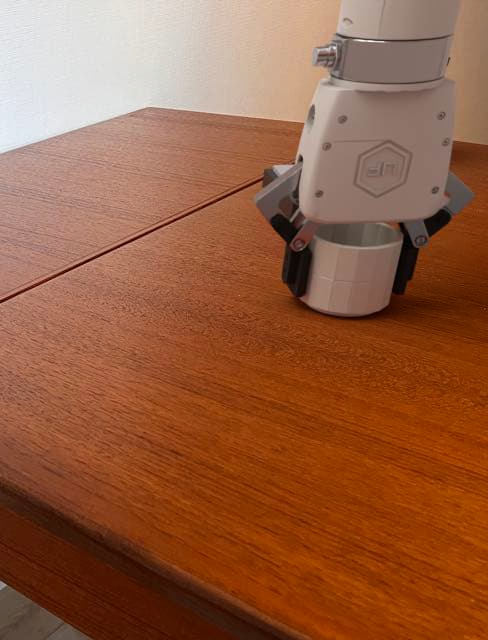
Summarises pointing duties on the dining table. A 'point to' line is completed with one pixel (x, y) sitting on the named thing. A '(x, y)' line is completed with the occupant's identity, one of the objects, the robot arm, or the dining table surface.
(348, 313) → the white handleless cup
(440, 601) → the dining table surface
